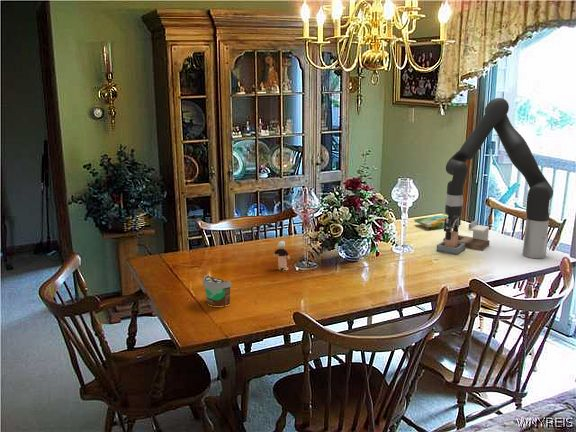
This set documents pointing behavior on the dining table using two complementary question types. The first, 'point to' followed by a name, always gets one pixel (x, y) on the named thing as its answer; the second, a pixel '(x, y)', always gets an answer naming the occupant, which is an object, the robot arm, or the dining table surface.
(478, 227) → the light grey blocky form
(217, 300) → the food container
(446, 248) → the tray
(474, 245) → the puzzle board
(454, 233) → the block
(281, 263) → the grandmother figurine
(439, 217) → the puzzle game
